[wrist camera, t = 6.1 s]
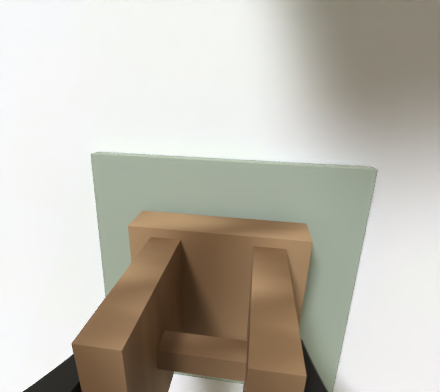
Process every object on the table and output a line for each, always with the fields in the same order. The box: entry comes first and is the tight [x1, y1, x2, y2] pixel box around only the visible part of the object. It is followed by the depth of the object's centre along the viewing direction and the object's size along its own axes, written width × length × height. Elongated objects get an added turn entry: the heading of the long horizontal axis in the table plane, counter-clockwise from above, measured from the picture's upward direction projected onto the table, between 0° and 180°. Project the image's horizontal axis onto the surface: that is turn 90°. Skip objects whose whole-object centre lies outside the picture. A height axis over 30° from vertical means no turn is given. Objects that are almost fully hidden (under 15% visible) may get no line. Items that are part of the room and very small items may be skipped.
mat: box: [91, 152, 378, 392], centre depth 14 cm, size 12×12×1 cm
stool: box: [72, 211, 313, 392], centre depth 10 cm, size 7×6×6 cm
